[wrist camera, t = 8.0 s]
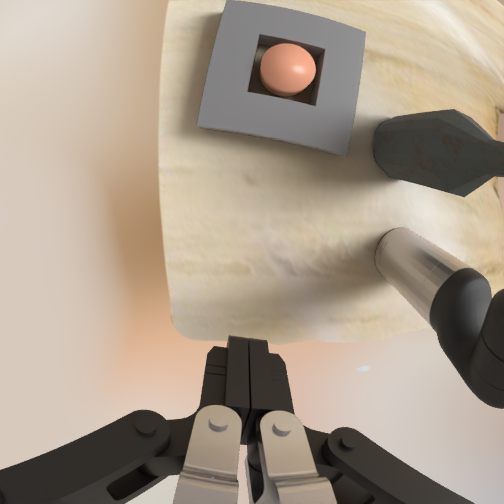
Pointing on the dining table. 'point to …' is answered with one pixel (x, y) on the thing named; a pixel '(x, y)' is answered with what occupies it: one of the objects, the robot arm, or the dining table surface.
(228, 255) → the dining table surface
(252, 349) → the robot arm
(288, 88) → the button cap
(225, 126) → the button box
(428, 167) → the bottle
